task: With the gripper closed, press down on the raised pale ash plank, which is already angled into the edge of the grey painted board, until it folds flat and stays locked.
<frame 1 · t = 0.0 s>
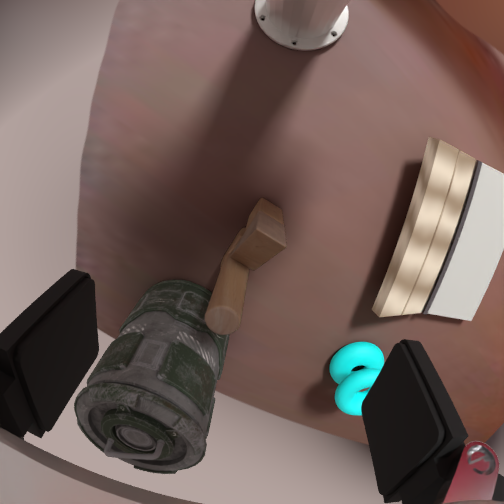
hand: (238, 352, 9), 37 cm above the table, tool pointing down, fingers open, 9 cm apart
canister: (184, 318, 53), on the table
plank: (429, 234, 42), point 3 cm above the table, hinge at 22.0°
donuts: (355, 359, 54), on the table
wooden block: (252, 233, 47), on the table
board: (472, 244, 45), on the table
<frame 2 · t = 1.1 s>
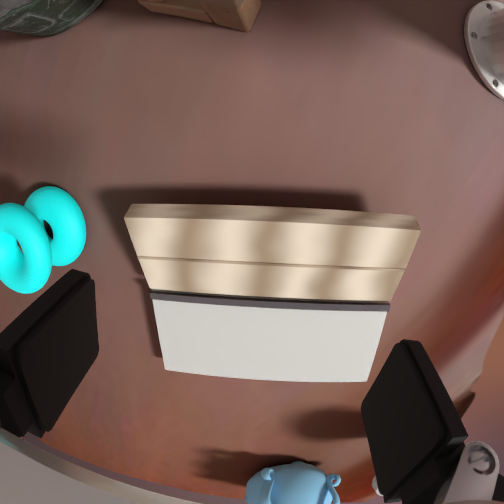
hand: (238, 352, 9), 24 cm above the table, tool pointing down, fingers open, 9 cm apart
plank: (271, 256, 30), point 3 cm above the table, hinge at 22.0°
donuts: (59, 222, 35), on the table
decorative pot: (290, 473, 52), on the table
wooden block: (204, 6, 24), on the table
board: (268, 333, 38), on the table
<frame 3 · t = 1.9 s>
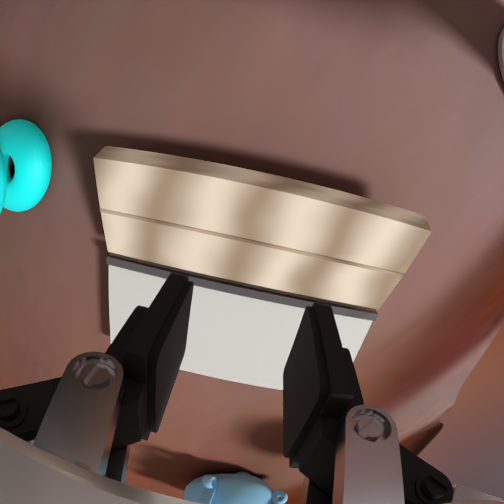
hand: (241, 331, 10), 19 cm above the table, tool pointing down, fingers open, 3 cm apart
plank: (254, 233, 26), point 3 cm above the table, hinge at 22.0°
donuts: (25, 163, 28), on the table
decorative pot: (233, 483, 47), on the table
board: (233, 326, 33), on the table
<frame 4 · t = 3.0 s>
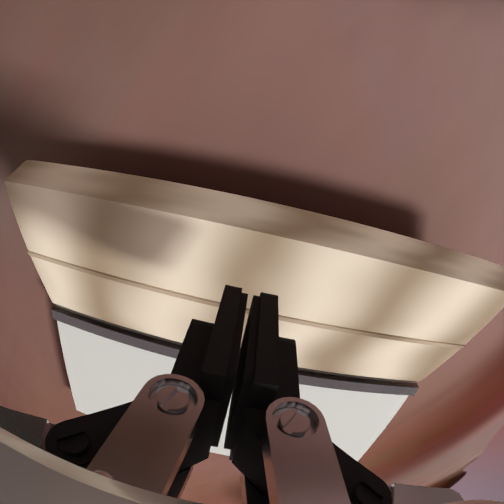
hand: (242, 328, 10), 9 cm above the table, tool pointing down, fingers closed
plank: (252, 295, 16), point 3 cm above the table, hinge at 22.0°
board: (225, 395, 24), on the table
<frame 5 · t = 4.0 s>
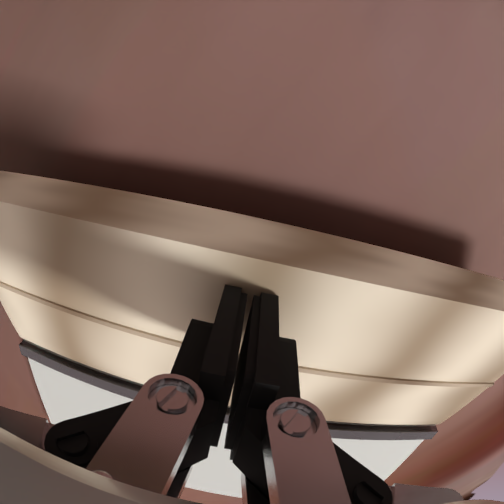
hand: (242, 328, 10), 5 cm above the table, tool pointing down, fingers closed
plank: (248, 338, 13), point 3 cm above the table, hinge at 16.4°, touching gripper
board: (219, 437, 20), on the table
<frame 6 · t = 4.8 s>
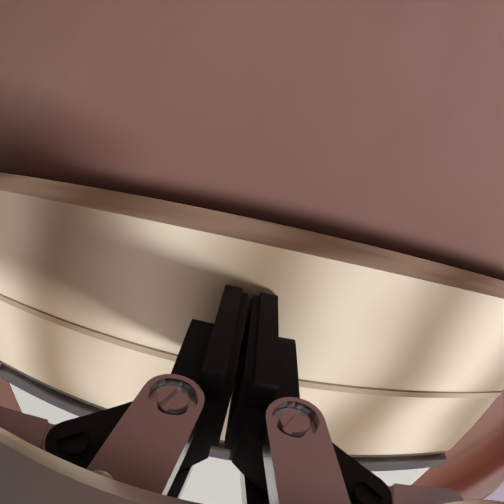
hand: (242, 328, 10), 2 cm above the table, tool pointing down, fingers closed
plank: (244, 354, 12), point 1 cm above the table, hinge at 2.0°, touching gripper
board: (214, 464, 18), on the table
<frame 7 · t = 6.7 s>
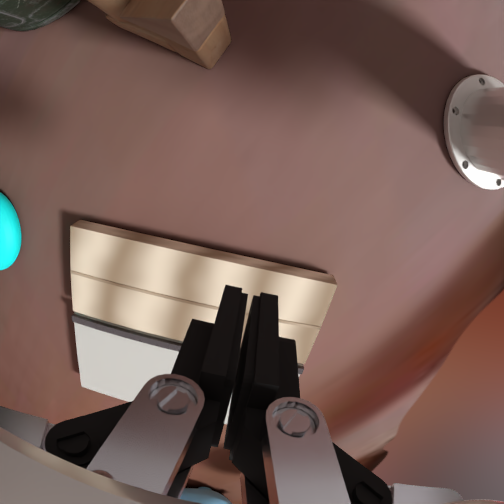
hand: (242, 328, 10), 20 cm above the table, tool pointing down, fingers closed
plank: (191, 297, 31), point 1 cm above the table, hinge at 1.9°
decorative pot: (197, 496, 50), on the table
wooden block: (173, 31, 24), on the table
board: (181, 371, 37), on the table
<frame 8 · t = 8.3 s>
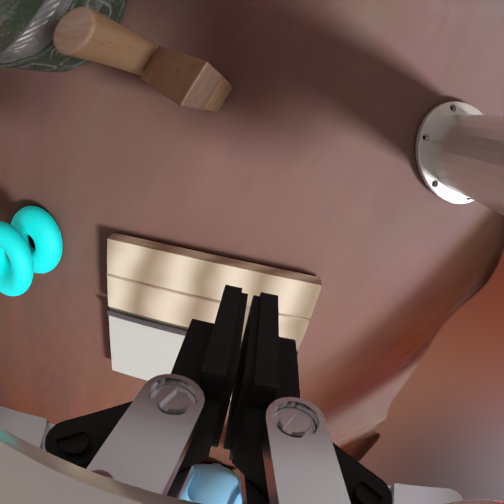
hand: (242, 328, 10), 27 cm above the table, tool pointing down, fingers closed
canister: (76, 18, 28), on the table
plank: (206, 294, 40), point 1 cm above the table, hinge at 1.9°
donuts: (41, 236, 40), on the table
decorative pot: (210, 472, 59), on the table
wooden block: (184, 78, 32), on the table
board: (197, 356, 45), on the table
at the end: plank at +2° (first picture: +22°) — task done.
